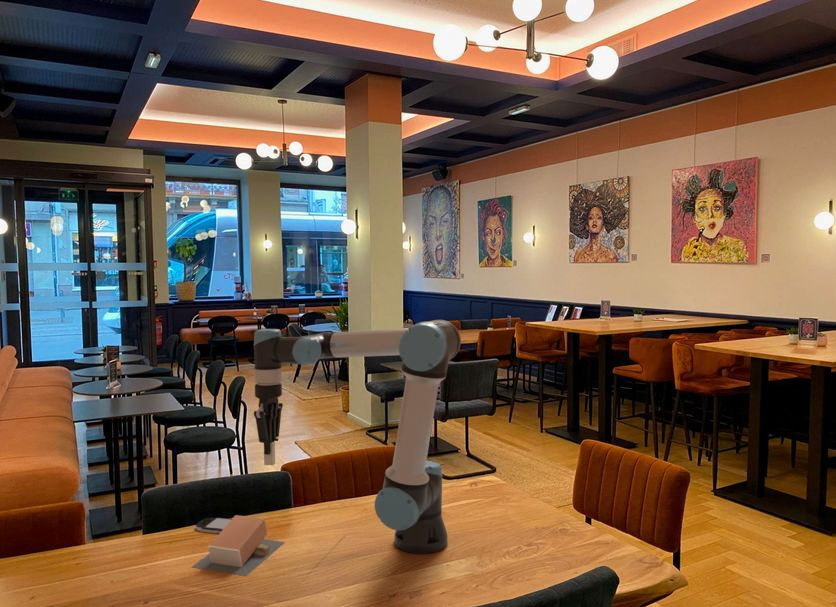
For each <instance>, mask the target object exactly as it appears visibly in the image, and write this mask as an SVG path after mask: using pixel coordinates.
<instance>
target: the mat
mask: <svg viewBox="0 0 836 607" xmlns="http://www.w3.org/2000/svg"><path fill="white" fill-rule="evenodd" d="M285 543H286V541H279V540H272V539H266V538H264V539H263V540H262V541H261V543H260V544H263V545H269V553H268V554H267V555H266V556H262V555H256V554H251V556H250V557H249V558H248V560H247V561H246V562H245V564H244V565H243V566H242V567H236V566H230V565H224V564H218V563H211V559H210V554H208V555H206V556H204V557H203V558H201V559H200V560H199V561H198V562H196V563H195V564H194V565H192V566H191V568H193V569H199V570H205V571H212V572H217V573H223V574H224V573H225V574H230V575H237V576H242V577H247V576H249V574H251V573H252V572H253V571H255V569H257V567H259V566H260V565H261V564H262V563H263V562H264V561H266V560H267V559H268V558H269V557H270V556H272V555H273V554H274V553H275V552H276V551H278V550H279V548H280V547H283V545H284V544H285Z"/></svg>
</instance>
